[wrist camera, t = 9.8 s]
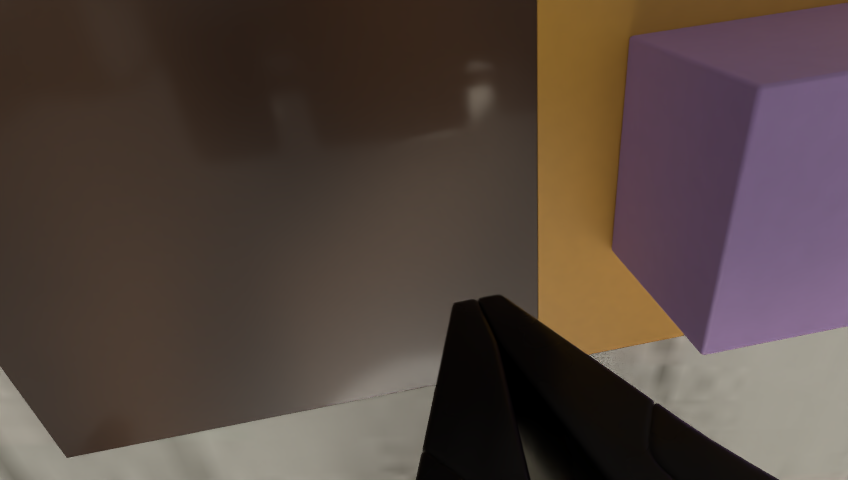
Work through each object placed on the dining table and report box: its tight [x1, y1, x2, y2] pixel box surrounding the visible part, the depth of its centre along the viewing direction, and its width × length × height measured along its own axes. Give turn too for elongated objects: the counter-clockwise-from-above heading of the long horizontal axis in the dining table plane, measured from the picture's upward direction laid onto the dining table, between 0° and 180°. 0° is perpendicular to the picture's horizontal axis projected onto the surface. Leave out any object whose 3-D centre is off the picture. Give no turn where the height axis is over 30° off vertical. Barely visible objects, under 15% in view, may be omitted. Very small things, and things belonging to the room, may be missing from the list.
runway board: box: [0, 0, 538, 458], centre depth 13 cm, size 15×14×1 cm
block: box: [612, 3, 848, 355], centre depth 12 cm, size 6×6×4 cm
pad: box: [537, 0, 848, 355], centre depth 14 cm, size 10×14×1 cm
